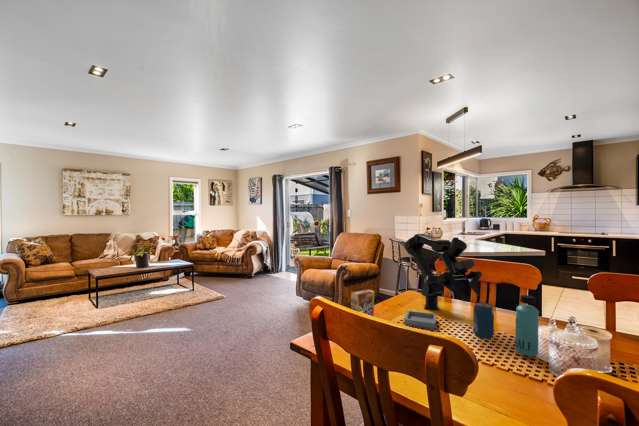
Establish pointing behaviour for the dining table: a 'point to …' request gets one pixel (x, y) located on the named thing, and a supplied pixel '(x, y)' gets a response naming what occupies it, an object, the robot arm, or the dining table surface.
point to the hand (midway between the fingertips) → (469, 295)
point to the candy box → (363, 301)
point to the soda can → (483, 320)
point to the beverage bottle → (527, 327)
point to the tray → (420, 319)
